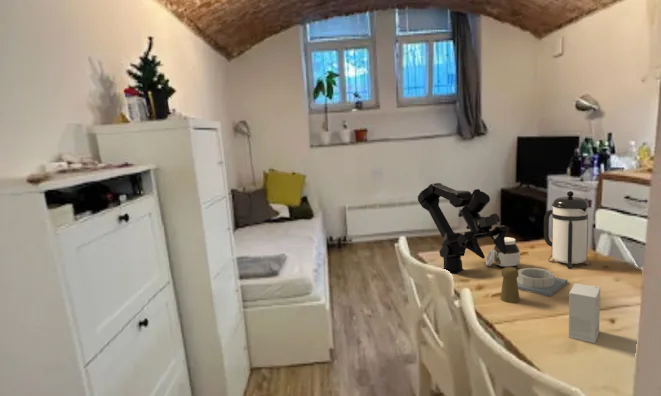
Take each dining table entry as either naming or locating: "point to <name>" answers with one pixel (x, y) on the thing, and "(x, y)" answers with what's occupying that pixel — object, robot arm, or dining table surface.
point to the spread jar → (505, 255)
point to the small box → (584, 312)
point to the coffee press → (568, 229)
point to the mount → (539, 281)
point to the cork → (510, 285)
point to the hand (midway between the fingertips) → (494, 255)
